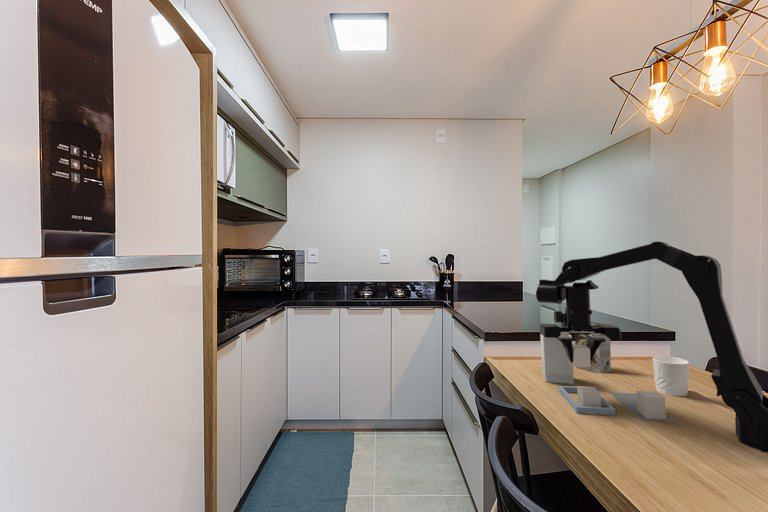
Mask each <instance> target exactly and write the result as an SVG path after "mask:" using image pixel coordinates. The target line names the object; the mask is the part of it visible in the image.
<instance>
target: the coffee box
mask: <svg viewBox="0 0 768 512" xmlns="http://www.w3.org/2000/svg"><path fill="white" fill-rule="evenodd" d="M597 324H602V323H600V322H593V321H591V326H592V328H596V326H597ZM586 335H588V334H574V341H575V342H574V345H585V346H587V339H586ZM603 339H605V340H606V341H605V342H602V343H601V344H600V346H599V347H598V349H597V350H596V352H595V354H594V356H593V358H592V360H591V367H577V368H578V369H580V370H581V369H582V370H585V371H587V372H591V373H594V374H607V373H610V372H612V367H611V366H612V363H611V360H612V359H611V339H609V338H608V337H606V336H605V335H604V336H603Z"/></svg>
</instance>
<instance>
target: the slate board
mask: <svg viewBox="0 0 768 512" xmlns="http://www.w3.org/2000/svg"><path fill="white" fill-rule="evenodd" d="M608 393H609V394H610V395H612V396H613V397H614V399H616V400H618V401H619V402H620V403H621V404H622V405H623V406H624V407H625V408H626V409H628V410H629V411H630V412H631V413H633V414H634V415H635V416H636V417H637V418H638V419H640V420H641V421H648V422H649V421H651V422H653V421H654V422H668V423H669V422H670V423H676V420H674V419H673V418H671V417H670V416H669V415H667V414H666V419H650V418H645V417H644V416H643V415H642V414H640V413H639V412H638V411H637V392H636V393H635V392H634V393H632V392H614V391H613V392H611V391H609V392H608Z"/></svg>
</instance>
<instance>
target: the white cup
mask: <svg viewBox="0 0 768 512" xmlns="http://www.w3.org/2000/svg"><path fill="white" fill-rule="evenodd" d="M652 366H653V376H654V377H653V378H654V384H655V390H656V392H659V393H662V394H665V395H669V396H673V397H686V396H688V389H689V379H690V377H689V376H690V362H689V361H688V360H686V359H684V358H680V357H679V358H678V357H674V356H666V355H664V356H663V355H655V356H653V357H652Z"/></svg>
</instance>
